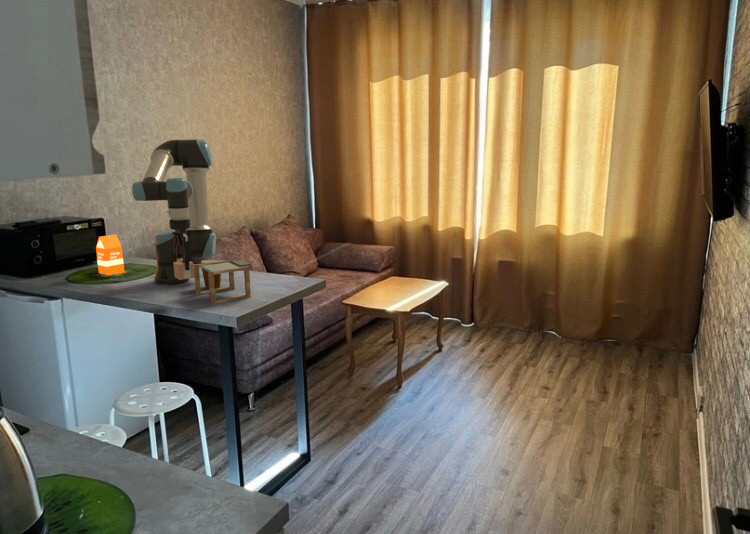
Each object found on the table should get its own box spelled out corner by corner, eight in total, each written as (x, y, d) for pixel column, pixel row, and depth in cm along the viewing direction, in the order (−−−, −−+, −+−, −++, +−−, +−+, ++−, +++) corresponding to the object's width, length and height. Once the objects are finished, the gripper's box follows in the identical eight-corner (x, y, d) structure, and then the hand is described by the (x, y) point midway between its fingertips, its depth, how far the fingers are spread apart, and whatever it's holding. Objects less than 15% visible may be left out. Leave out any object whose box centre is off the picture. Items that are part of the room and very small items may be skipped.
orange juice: (99, 276, 272) (94, 236, 268) (116, 273, 279) (111, 233, 275) (108, 279, 268) (103, 237, 263) (125, 275, 275) (120, 235, 270)
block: (174, 276, 224) (173, 262, 222) (189, 274, 227) (188, 260, 226) (179, 279, 219) (178, 265, 218) (194, 277, 223) (193, 262, 221)
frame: (195, 294, 238) (193, 264, 235) (233, 288, 248) (231, 259, 245) (211, 304, 223) (209, 272, 221) (250, 297, 233) (249, 266, 230)
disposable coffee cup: (222, 289, 246) (221, 262, 244) (200, 290, 245) (198, 263, 242) (225, 284, 255) (223, 258, 253) (203, 285, 254) (201, 259, 251)
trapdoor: (201, 269, 236) (200, 264, 235) (240, 264, 246) (240, 259, 245) (213, 276, 224) (213, 270, 224) (254, 270, 234) (254, 264, 234)
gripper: (162, 216, 223) (167, 272, 228) (177, 222, 208) (182, 282, 213) (181, 214, 227) (186, 270, 233) (197, 220, 212) (202, 279, 218)
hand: (184, 276), depth 223 cm, fingers closed on block, 6 cm apart
